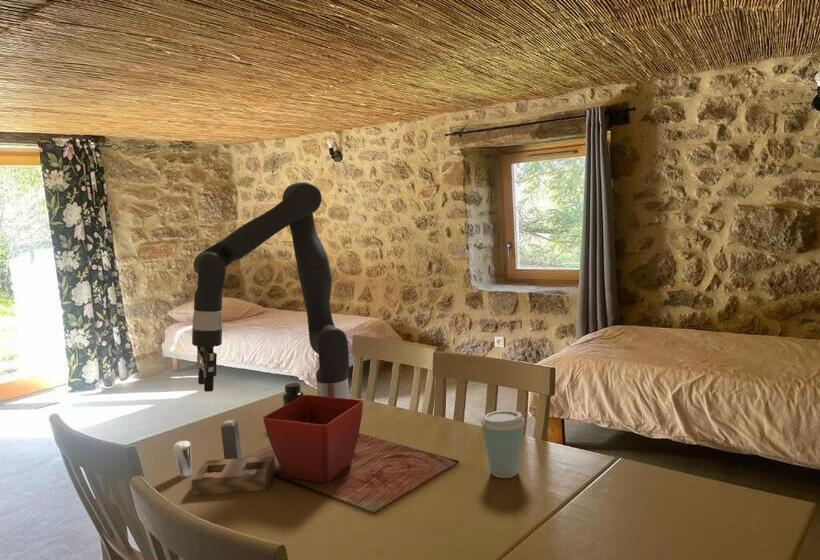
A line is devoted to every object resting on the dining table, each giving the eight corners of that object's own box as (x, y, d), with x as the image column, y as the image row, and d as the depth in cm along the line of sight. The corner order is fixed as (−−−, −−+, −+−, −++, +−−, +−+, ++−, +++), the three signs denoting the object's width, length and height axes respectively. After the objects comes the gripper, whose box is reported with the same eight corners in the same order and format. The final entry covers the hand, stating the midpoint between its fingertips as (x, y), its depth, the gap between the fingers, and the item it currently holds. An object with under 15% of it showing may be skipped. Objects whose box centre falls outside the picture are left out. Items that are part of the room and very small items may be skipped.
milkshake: (191, 479, 159) (187, 442, 157) (173, 478, 160) (168, 442, 159) (200, 471, 163) (196, 435, 162) (182, 470, 164) (178, 435, 163)
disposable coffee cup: (474, 475, 150) (471, 416, 148) (499, 459, 157) (496, 403, 155) (511, 486, 142) (508, 425, 140) (535, 469, 150) (532, 411, 148)
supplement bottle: (286, 418, 200) (282, 382, 199) (307, 415, 201) (303, 380, 199) (284, 425, 193) (280, 389, 192) (305, 423, 194) (302, 386, 193)
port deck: (275, 470, 160) (274, 454, 160) (266, 489, 150) (264, 473, 149) (207, 475, 160) (205, 459, 160) (193, 495, 149) (191, 478, 149)
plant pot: (369, 459, 163) (364, 399, 161) (331, 492, 146) (325, 425, 144) (310, 451, 171) (304, 394, 169) (267, 481, 154) (260, 418, 152)
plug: (241, 459, 169) (237, 418, 168) (238, 464, 166) (233, 423, 164) (229, 460, 169) (224, 419, 168) (225, 465, 166) (220, 424, 164)
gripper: (227, 331, 157) (225, 393, 158) (216, 323, 169) (214, 380, 170) (197, 331, 153) (195, 395, 154) (188, 323, 165) (186, 382, 166)
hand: (205, 387), depth 162 cm, fingers open, 8 cm apart
